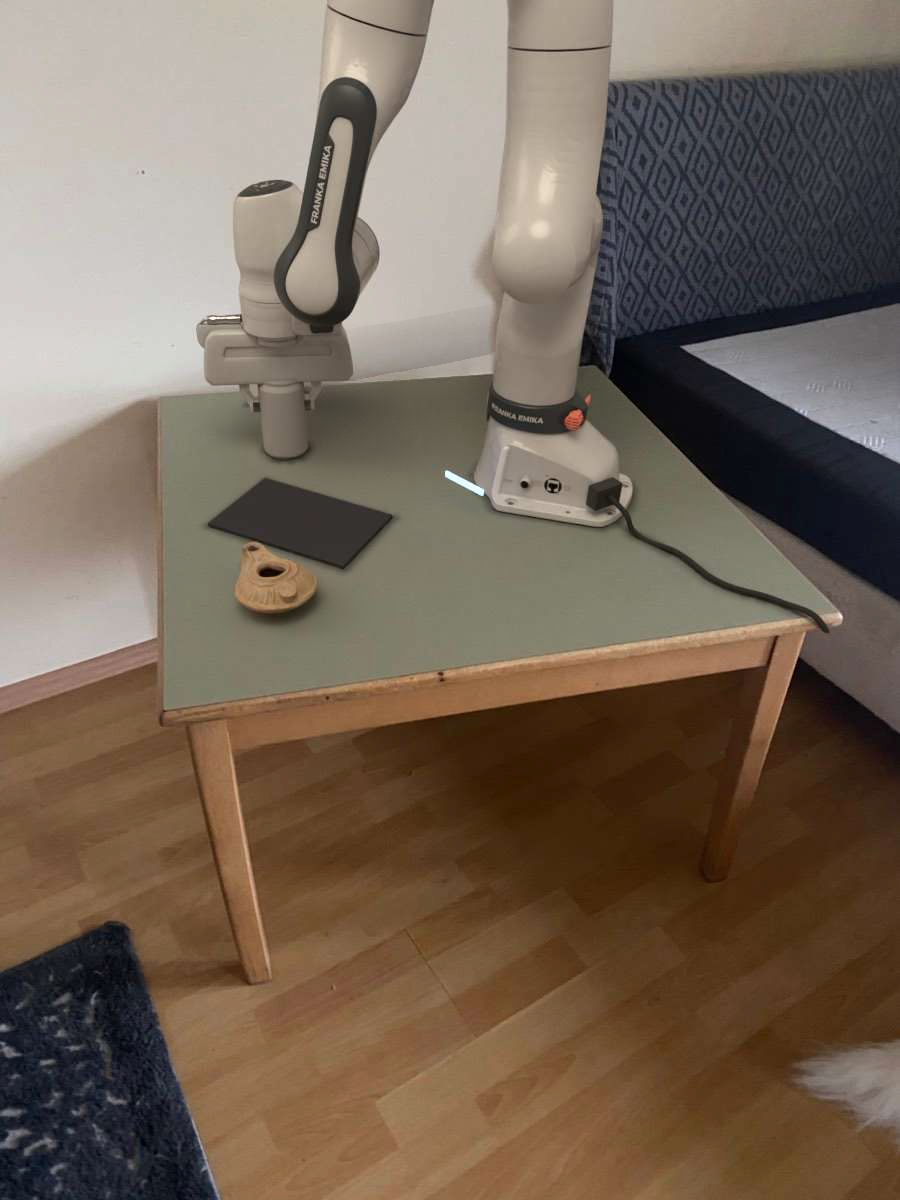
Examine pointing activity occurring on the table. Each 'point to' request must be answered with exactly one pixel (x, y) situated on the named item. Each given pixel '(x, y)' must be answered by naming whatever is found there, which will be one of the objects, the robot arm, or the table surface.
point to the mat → (302, 522)
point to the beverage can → (283, 418)
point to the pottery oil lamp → (272, 581)
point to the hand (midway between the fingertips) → (282, 409)
